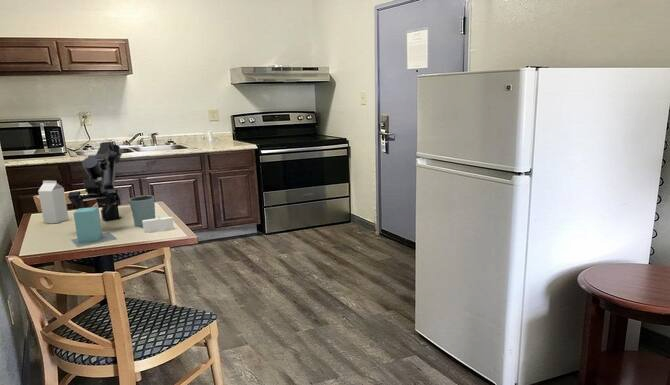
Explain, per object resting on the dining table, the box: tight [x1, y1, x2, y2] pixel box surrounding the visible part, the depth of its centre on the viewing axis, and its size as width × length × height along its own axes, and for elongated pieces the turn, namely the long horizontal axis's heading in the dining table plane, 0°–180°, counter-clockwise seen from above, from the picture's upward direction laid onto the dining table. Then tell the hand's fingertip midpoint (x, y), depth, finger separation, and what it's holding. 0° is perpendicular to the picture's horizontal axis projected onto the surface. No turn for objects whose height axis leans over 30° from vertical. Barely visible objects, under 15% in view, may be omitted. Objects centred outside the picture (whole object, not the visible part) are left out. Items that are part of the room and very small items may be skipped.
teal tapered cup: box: [128, 194, 156, 228], centre depth 200 cm, size 10×10×12 cm
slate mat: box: [70, 231, 118, 248], centre depth 182 cm, size 14×13×1 cm
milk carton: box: [37, 180, 70, 224], centre depth 211 cm, size 7×7×19 cm
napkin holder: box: [142, 216, 175, 233], centre depth 191 cm, size 15×11×6 cm
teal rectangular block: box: [72, 206, 103, 243], centre depth 181 cm, size 7×7×12 cm
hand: (93, 213), depth 188 cm, fingers open, 9 cm apart
